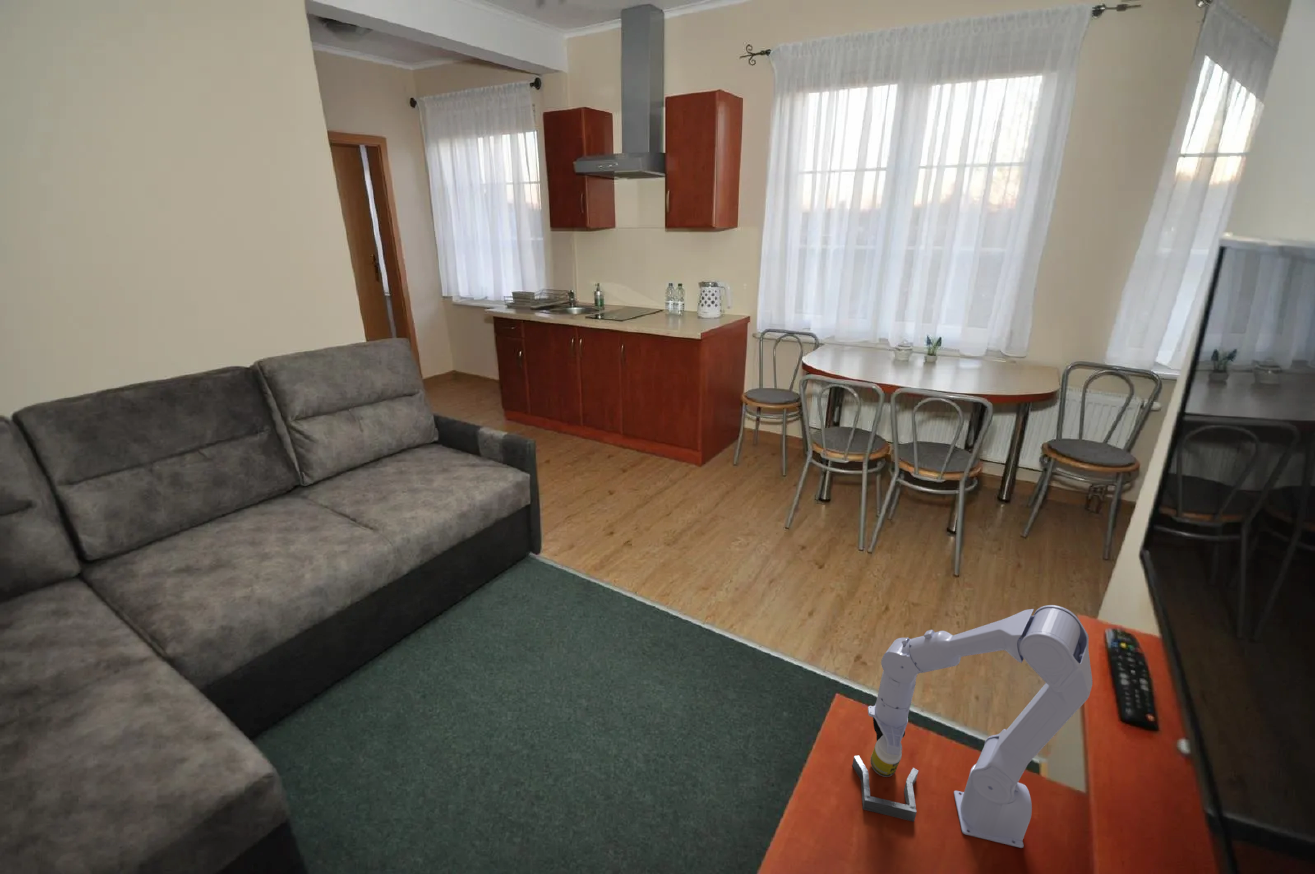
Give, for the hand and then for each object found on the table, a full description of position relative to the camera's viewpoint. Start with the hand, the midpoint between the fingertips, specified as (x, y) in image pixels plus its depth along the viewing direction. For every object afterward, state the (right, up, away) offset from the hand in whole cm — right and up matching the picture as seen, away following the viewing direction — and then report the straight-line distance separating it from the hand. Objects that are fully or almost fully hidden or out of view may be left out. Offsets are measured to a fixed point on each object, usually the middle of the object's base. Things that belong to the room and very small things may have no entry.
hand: (882, 748), depth 113 cm
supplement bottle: (-1, -2, -1) cm, 3 cm away
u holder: (-2, -5, -7) cm, 9 cm away
